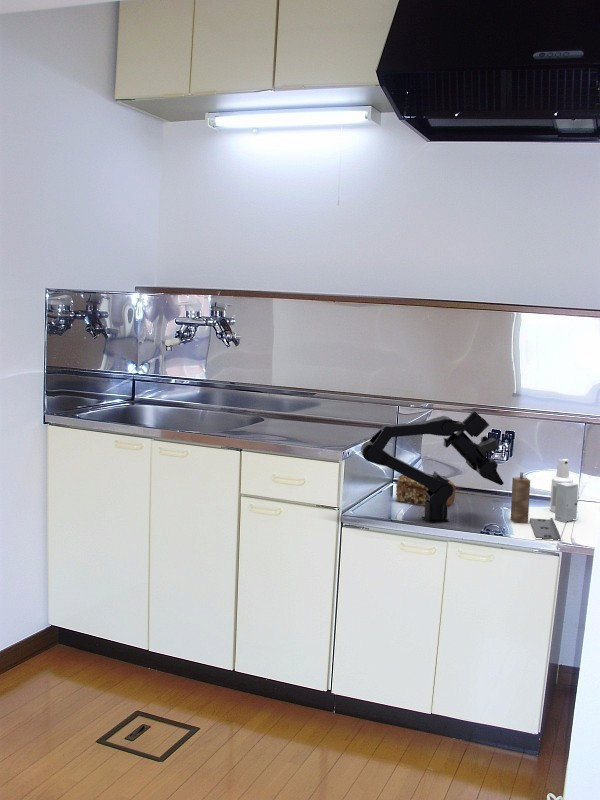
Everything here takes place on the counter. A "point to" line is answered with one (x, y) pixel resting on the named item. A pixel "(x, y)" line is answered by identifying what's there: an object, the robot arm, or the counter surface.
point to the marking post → (520, 499)
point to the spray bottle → (559, 480)
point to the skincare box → (566, 501)
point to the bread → (415, 491)
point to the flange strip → (544, 529)
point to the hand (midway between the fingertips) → (498, 481)
